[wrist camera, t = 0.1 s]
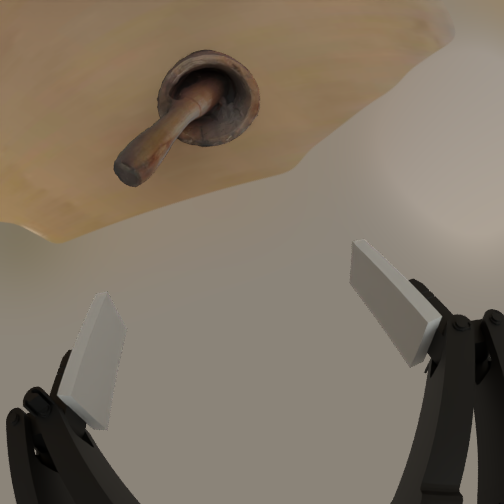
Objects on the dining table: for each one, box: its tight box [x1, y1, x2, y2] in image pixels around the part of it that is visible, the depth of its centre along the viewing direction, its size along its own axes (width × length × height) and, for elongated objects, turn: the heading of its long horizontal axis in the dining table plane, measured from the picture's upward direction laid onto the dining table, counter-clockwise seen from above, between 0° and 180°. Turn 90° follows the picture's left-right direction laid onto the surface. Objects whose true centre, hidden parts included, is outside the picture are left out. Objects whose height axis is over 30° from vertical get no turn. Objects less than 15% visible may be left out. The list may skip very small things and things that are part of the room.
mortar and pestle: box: [114, 50, 260, 187], centre depth 23 cm, size 12×9×20 cm
